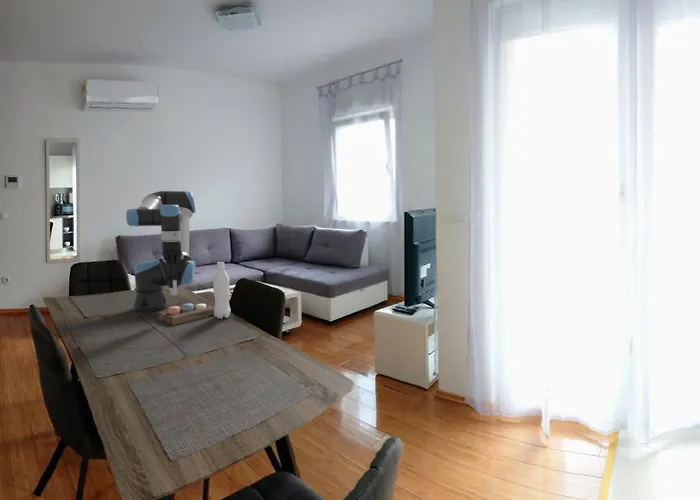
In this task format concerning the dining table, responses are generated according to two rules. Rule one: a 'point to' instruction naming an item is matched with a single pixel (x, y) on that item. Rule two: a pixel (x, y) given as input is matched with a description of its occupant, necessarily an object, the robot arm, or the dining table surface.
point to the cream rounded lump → (200, 306)
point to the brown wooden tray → (185, 314)
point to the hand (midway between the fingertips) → (174, 294)
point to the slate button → (187, 307)
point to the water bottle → (221, 292)
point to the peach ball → (174, 310)
